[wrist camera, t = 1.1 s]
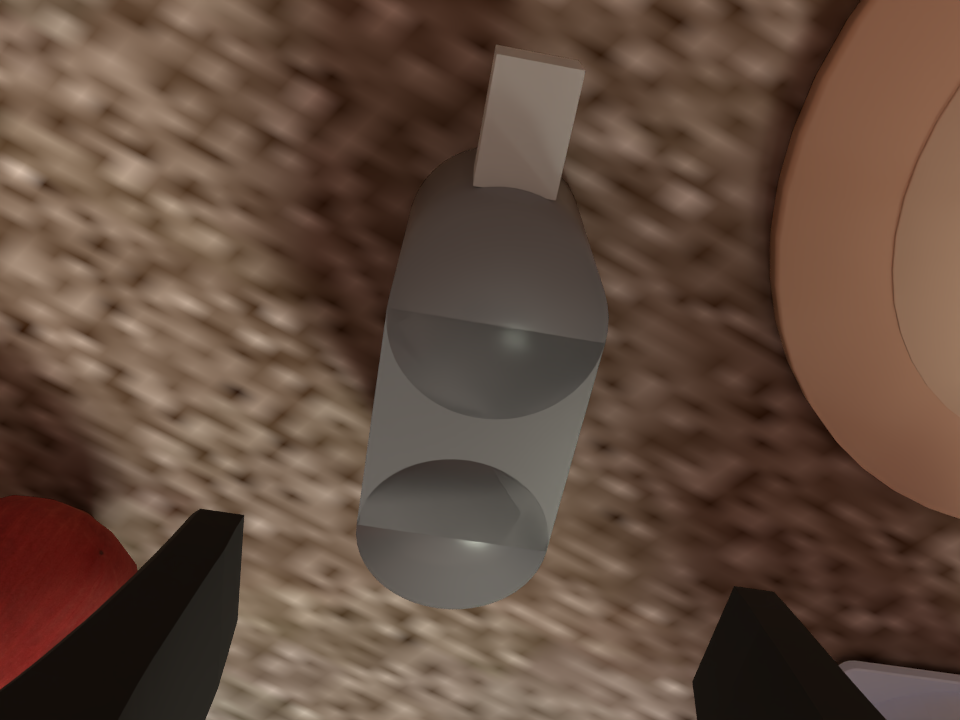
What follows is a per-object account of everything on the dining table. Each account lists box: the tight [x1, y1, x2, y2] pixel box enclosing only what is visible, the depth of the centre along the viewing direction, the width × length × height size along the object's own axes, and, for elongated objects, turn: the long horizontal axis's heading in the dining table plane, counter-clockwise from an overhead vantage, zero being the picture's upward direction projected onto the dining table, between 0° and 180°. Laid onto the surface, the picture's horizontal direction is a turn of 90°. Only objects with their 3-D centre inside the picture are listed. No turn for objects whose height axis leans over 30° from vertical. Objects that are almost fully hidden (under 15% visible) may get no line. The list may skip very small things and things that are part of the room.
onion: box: [0, 495, 137, 689], centre depth 20 cm, size 6×6×8 cm
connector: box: [356, 45, 609, 609], centre depth 18 cm, size 11×4×5 cm, turn 170°
